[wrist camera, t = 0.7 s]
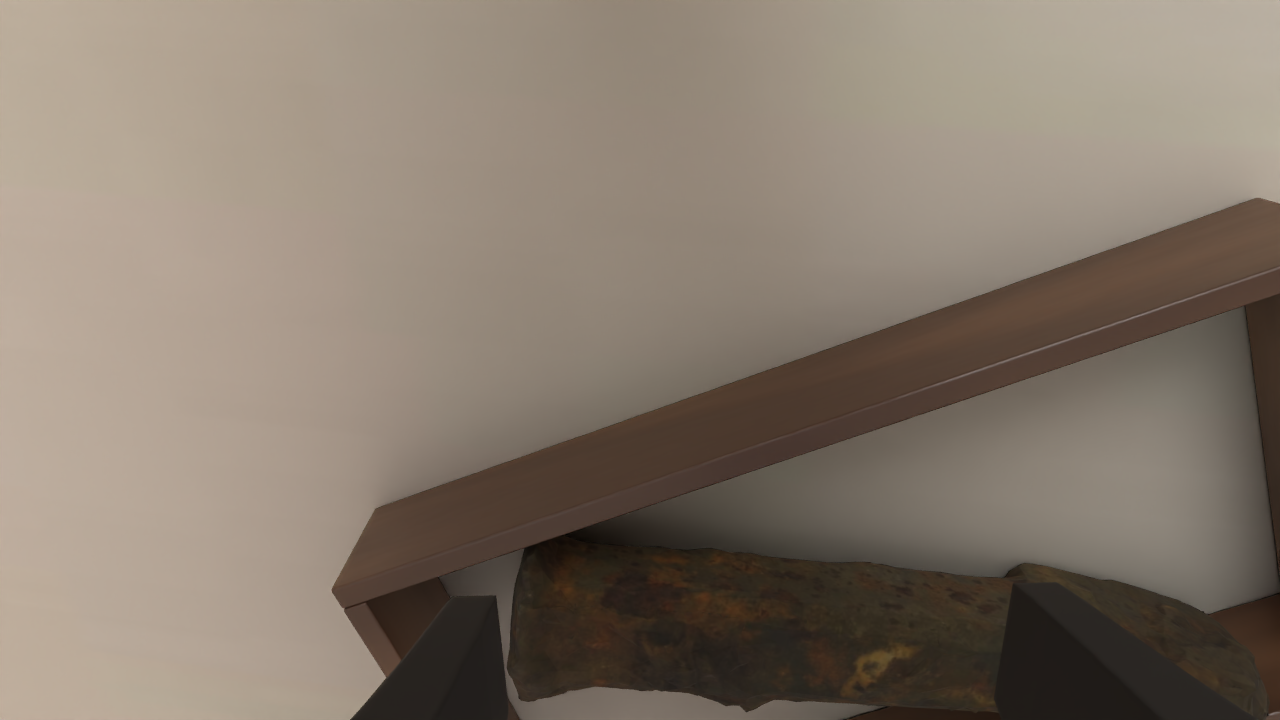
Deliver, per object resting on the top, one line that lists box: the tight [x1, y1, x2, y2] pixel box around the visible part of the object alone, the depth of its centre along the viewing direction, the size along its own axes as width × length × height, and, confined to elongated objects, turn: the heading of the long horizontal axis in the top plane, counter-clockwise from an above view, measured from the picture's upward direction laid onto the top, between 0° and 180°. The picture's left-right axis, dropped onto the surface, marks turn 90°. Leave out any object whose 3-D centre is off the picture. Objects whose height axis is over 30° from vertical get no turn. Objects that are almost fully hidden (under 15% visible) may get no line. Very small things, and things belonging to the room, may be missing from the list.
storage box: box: [332, 198, 1280, 720], centre depth 21 cm, size 12×23×4 cm, turn 111°
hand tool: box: [507, 535, 1270, 720], centre depth 21 cm, size 19×4×5 cm, turn 83°
